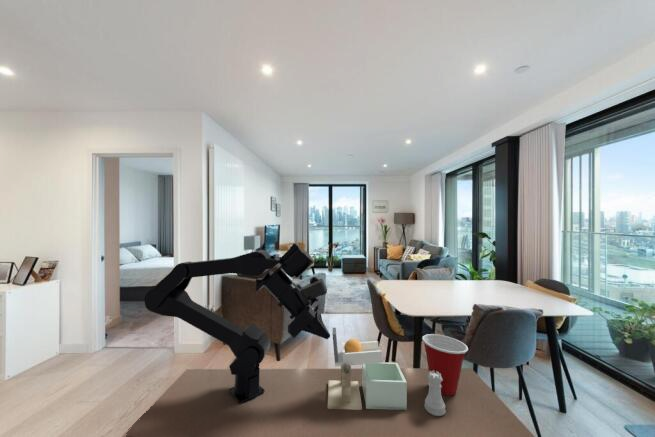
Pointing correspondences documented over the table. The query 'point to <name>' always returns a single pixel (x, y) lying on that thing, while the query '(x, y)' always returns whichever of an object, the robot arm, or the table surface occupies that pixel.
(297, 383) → the table surface
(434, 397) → the rook chess piece
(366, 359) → the chute
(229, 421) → the table surface
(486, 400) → the table surface
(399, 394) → the pale green open box
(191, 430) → the table surface
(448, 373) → the plastic cup
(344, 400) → the stand
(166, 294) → the robot arm
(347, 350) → the ball
